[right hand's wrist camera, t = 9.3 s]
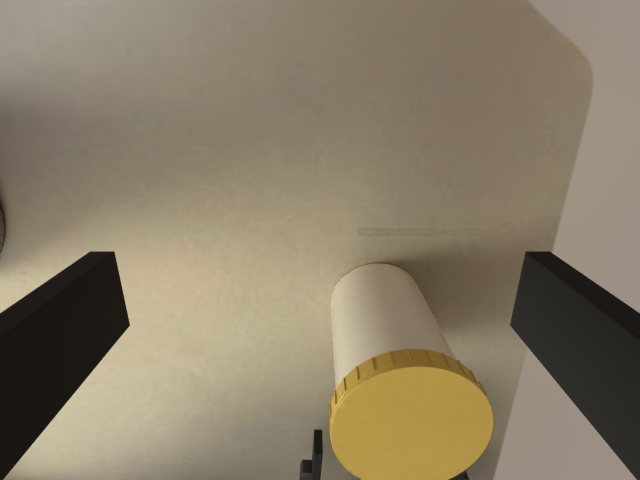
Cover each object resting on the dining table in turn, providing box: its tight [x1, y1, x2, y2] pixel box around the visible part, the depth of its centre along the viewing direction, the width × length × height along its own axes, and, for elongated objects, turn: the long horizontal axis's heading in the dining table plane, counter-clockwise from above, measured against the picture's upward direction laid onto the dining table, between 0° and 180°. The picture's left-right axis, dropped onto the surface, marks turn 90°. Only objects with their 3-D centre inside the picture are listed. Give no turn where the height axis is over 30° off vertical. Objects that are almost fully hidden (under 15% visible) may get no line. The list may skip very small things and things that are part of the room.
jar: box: [330, 263, 457, 390], centre depth 31 cm, size 9×9×15 cm
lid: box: [328, 349, 494, 480], centre depth 25 cm, size 10×10×2 cm
